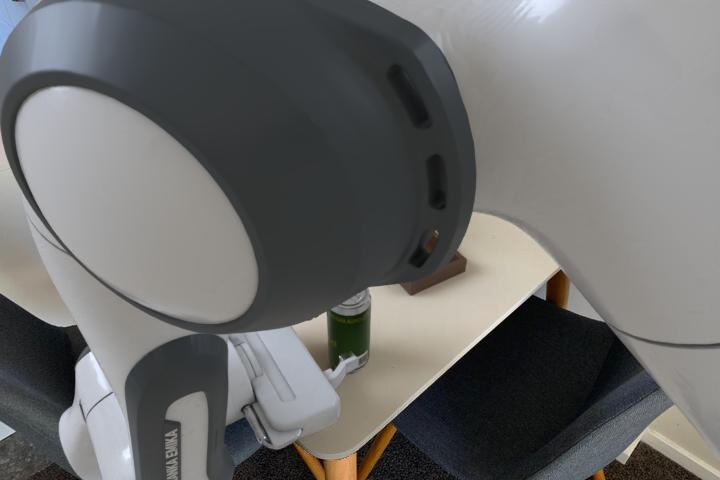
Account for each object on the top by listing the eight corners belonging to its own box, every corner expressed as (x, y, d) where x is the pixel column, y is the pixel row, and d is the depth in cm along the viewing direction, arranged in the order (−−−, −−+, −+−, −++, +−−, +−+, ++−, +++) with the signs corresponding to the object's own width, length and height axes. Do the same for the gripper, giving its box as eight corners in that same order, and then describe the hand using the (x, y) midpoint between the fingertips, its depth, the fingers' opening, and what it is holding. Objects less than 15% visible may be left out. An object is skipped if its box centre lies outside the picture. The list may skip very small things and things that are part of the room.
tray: (465, 271, 82) (467, 259, 80) (410, 295, 78) (411, 283, 76) (365, 183, 102) (365, 172, 100) (317, 198, 97) (316, 187, 96)
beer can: (377, 356, 69) (381, 291, 61) (349, 382, 66) (349, 316, 58) (347, 335, 72) (347, 270, 64) (319, 358, 68) (316, 293, 61)
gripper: (261, 439, 49) (383, 376, 55) (193, 304, 63) (297, 265, 68) (268, 472, 53) (381, 410, 59) (202, 339, 67) (300, 299, 72)
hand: (335, 331), depth 64 cm, fingers open, 8 cm apart
